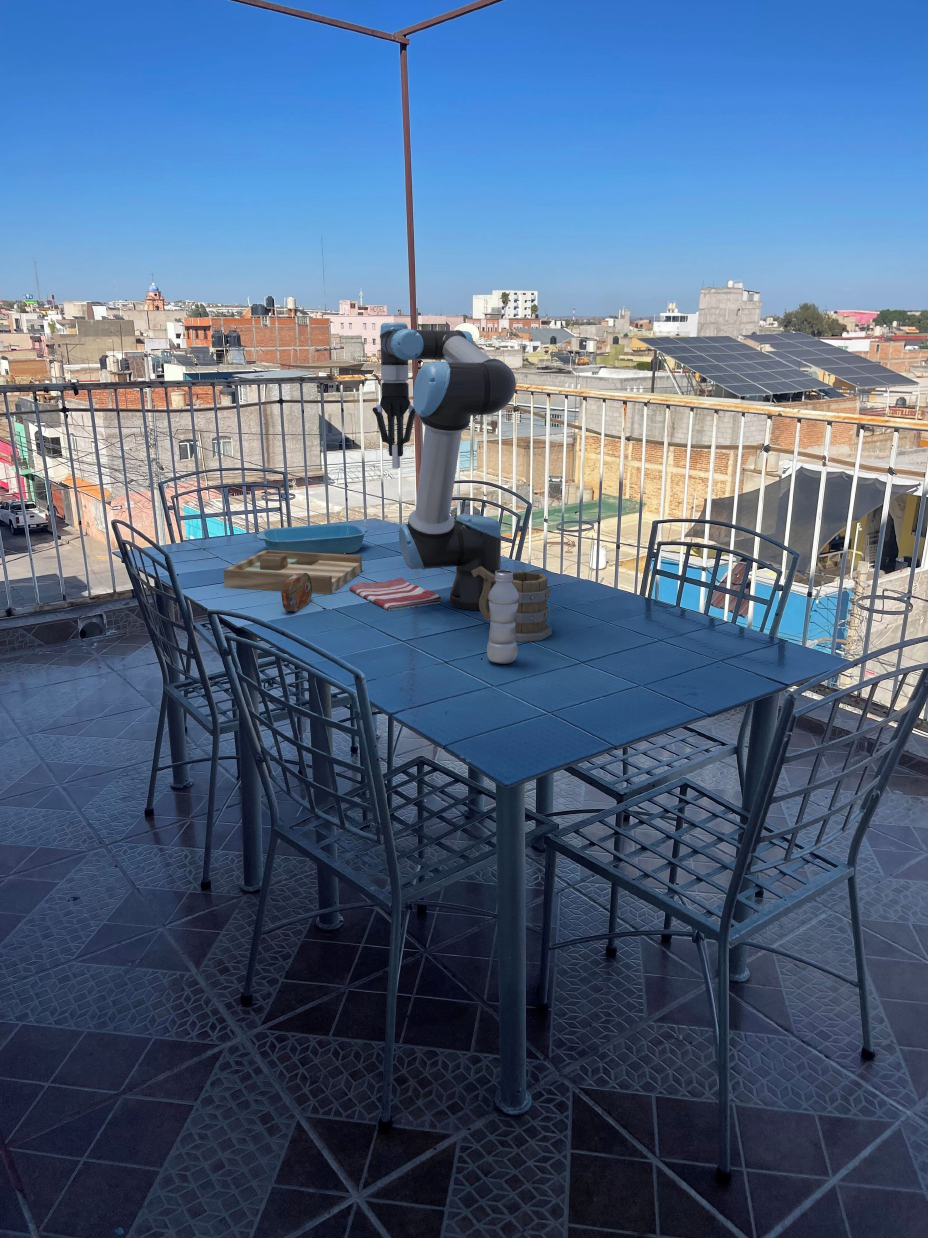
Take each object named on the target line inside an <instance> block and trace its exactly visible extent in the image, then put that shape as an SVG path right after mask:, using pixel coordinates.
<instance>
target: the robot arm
mask: <svg viewBox="0 0 928 1238" xmlns="http://www.w3.org/2000/svg"><path fill="white" fill-rule="evenodd" d="M379 330H380V332H379V333H380V334H379V340H380V379H381V380H382V381H383V382H381V387H380V388H381V390H380V392H381V399H380V401H379V404H378V405H377V406H374V407H373V408H372V412H373V414H374V415H375V418H376V422H377V426H378V429H379V435H380V437H381V442H382V443H386V444H387V445H388V455H389V457H391V458H392V459H391V461H392V462H391V464H392V466H391V468H392V469H393V470H394V469H395V470H396V469H400V468H401V457H403V456H404V445H405V444H406V443H408V442H410V440H411V436H412V431H413V426H414V422H415V418H416V415H417V416H419V420H420V422H421V423H422V425H423V426H424V435H423V442H422V451H421V459H420V461H421V462H420V468H419V478H418V485H417V493H416V502H415V503H416V504H415V510H413V511H412V512H410V514H409V516H408V519H407V523H402V524H401V525H399V528H398V540H399V546H400V552H401V556H402V558H403V561H404V564H405V565H406V566H407V568H409V569H410V570H422V571H423V570H424V571H425V570H426V569H427V570H428V569H429V570H430V569H439V568H440V569H441V568H453V567H455V569H456V570H455V571H456V572H455V577H454V580H453V583H452V586H451V589H450V592H449V604H450V605H451V606H453V607H455V608H458V609H463V610H469V611H480V609H479V599H480V597H481V594H482V591H483V587H484V578H483V577H482V576H480V575H478V576H476V577H474V576H473V574H472V572H471V571H472V570H474V569H476V568H478V567H480V566H482V567H483V568H485V569H486V570H487V571H489V572H491V573H492V574H494V575H495V571H497V570H501V555H502V553H501V551H502V550H501V549H502V545H501V544H502V540H503V537H502V527H501V523H500V522H499V521H498V520H497V519H495V518H492V517H489V516H483V515H477V514H467V513H464V514H463V513H462V514H457V518H456V521H455V522H454V520H455V519H454V518H453V516H451V515H450V514H451V506H452V500H453V493H454V487H455V481H456V480H455V479H456V474H457V466H458V459H459V453H460V452H459V451H460V446H461V439H462V432H463V431H465V430H467V429H468V427H470V421H471V417H472V416H488V415H492V414H493V415H494V414H496V413H498V412H500V411H501V410H502V409H504V408H506V407H507V406H508V404H510V402H511V401H512V399H513V397H514V395H515V393H516V387H517V380H516V377H515V374H514V371H513V370H512V369H511V367H509V365H508V364H506V363H505V361H502V360H500V359H498V358H492V357H490V356H489V355H488V354H486V353H485V352H483V351H482V350H480V348H478V347H477V346H476V345H475V343H474V338H473V335H472V333H471V332H469V331H467V330H460V329H454V330H447V329H446V330H445V329H443V330H440V329H439V330H437V329H435V330H434V329H412V328H408V324H407V323H405V322H383V323H381V325H380V329H379ZM413 360H417V361H422V360H423V361H427V360H429V361H430V360H432V361H434V360H435V361H438V360H439V361H438V362H428V363H425V364H424V365H423V366H421V368H420V369H419V371H418V372H417V375H416V377H415V380H414V383H413V384H414V385H413V393H412V396H413V399H412V401H413V402H412V403H413V404H411V401H410V397H409V393H410V392H409V391H410V390H409V383H408V382H407V381H409V361H413ZM383 411H384V413H385V414H386V416H387V417H386V418H387V419H386V420H387V426H386V423H385V419H384V414H383ZM407 411H408V417H407V421H406V425H405V426H406V427H405V429H404V416H405V414H406V413H407ZM395 419H396V429H395ZM395 430H396V435H395ZM395 437H396V438H395ZM395 440H396V441H395ZM494 584H495V582H493V586H494ZM488 606H489V602H488ZM489 610H490V608H489Z"/></svg>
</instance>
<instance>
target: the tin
mask: <svg viewBox="0 0 928 1238" xmlns="http://www.w3.org/2000/svg"><path fill="white" fill-rule="evenodd" d="M280 594H281V603H282V607H283V610H284V611H286V612H289V613H290V612H294V613H298V612H299V611H300V610H302V609H303V608H304V607H305V606H307V605H308V604H309V603H310V602H311V600H312V595H313V593H312V583H311V579H310V576H309V575H308V574H307V573H297V574H295V575H294V576H292V577H291V578H289V579H287V580H286V581H285V582H284V583H283V585H282V589H281V591H280Z"/></svg>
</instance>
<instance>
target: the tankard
mask: <svg viewBox="0 0 928 1238" xmlns="http://www.w3.org/2000/svg"><path fill="white" fill-rule="evenodd" d="M471 572H472V574H473V576H474V577H476V576H478V575H480V576H482V577H483V578H484V587H483V591H482V594H481V597H480V599H479V609H480V610H479V611H480V613H481V615H482V618H483V620H485V621H488V622H490V621H491V620H490V610H489V606H488V602H489V600H488V595H489V592H490V590H491V589H492V587H493V582H495V583H496V581H495V575H494V574H492V573H491V572H489V571H487V570H486V569H485V568H483V567H482V566H480V567H478V568H476V569H474V570H472V571H471ZM512 572H513V581H512V584H513V585H514V587H515V588H516V590H517V591H518V594H519V601H518V607H517V613H516V621H515V622H516V624H515V632H516V643H526V642H527V643H529V642H540V641H543V640H544V639H546V638H548V637H549V636H551V635H552V630H553V628H552V627H551V626H549V625H548V624H547V619H548V618H549V617H550V608H549V607H548V606H547V604H548V603H547V602H548V599H549V598H551V587H549V586H548V577H547V576H546V575H545V574H543V573H540V572H535V571H525V570H524V571H523V570H522V571H512Z"/></svg>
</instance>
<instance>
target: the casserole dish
mask: <svg viewBox="0 0 928 1238" xmlns="http://www.w3.org/2000/svg"><path fill="white" fill-rule="evenodd" d="M368 531H369V529H368V528H367V527H365V526H362V525H357V524H352V523H337V524H336V523H332V524H331V523H330V524H320V525H319V524H318V525H317V524H315V525H302V526H285V527H275V528H268V529H267V528H266V529H264V530H263V531H262V532H260V533H258V534H256V538H257V539H258V540H260V541H264V543H265V546H266V549H267V550H274V551H292V552H310V553H327V554H344V553H350V554H354V553H357V552H358V551H359V550H360V548H361V547H362V544H363V541H364V537H365V533H368ZM353 552H354V553H353Z"/></svg>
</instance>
